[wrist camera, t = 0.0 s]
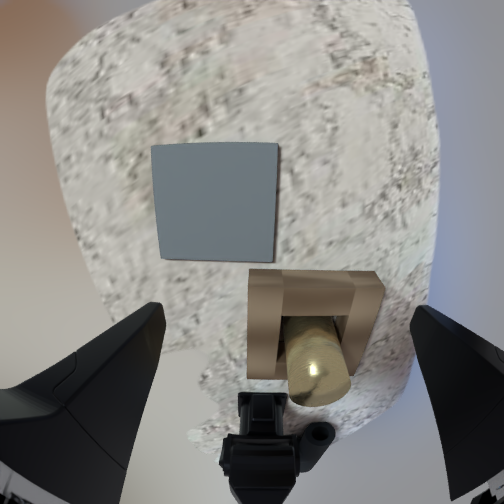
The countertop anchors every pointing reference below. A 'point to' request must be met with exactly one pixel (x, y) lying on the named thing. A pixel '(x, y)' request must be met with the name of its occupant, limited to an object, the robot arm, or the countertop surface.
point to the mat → (215, 200)
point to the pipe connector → (314, 444)
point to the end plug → (314, 361)
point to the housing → (308, 313)
